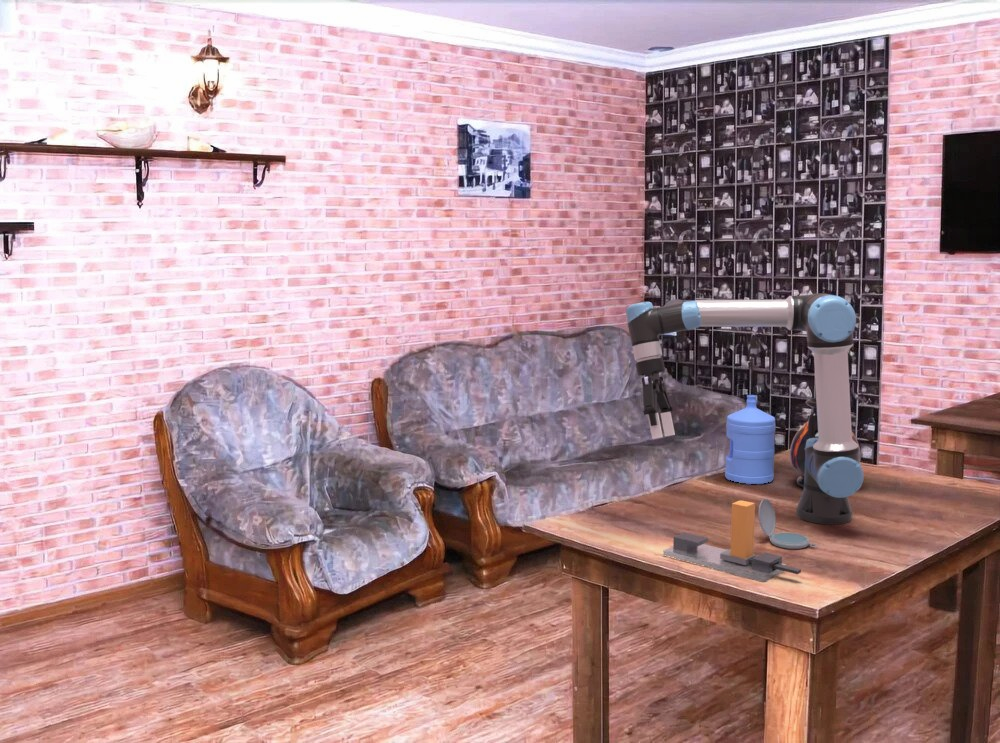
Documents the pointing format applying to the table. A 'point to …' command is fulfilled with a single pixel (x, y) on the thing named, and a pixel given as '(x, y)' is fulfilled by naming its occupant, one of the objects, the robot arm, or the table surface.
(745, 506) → the handle
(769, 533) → the pocket watch
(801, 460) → the amphora vase
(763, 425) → the water jug
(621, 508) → the table surface
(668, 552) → the base
